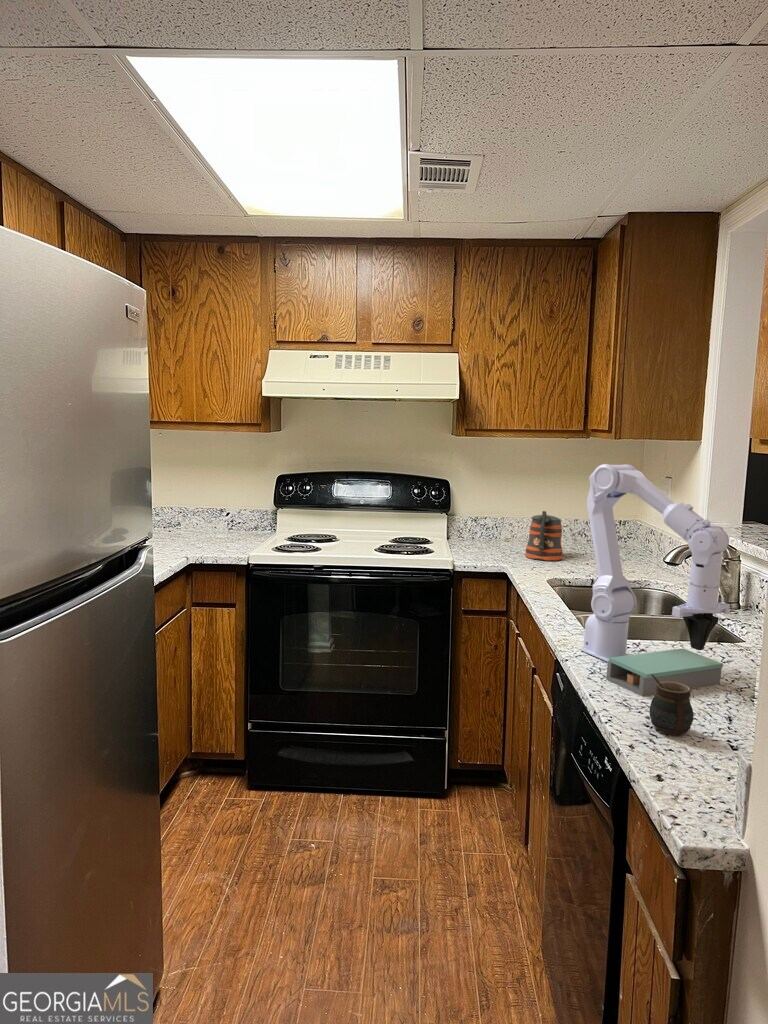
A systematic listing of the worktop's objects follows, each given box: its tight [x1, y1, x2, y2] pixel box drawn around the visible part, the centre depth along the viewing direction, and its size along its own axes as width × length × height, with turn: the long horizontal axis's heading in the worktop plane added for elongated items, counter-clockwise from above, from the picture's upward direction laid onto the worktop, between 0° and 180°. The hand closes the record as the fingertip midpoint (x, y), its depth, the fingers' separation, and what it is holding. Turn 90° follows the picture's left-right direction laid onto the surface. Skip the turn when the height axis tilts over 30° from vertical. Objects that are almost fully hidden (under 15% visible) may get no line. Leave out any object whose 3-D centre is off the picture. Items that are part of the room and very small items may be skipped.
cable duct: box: [605, 662, 723, 697], centre depth 154 cm, size 11×22×4 cm, turn 116°
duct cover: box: [609, 648, 724, 678], centre depth 153 cm, size 10×22×1 cm, turn 116°
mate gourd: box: [649, 674, 695, 737], centre depth 128 cm, size 7×8×10 cm
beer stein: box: [525, 510, 563, 562], centre depth 291 cm, size 19×15×20 cm
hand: (697, 648), depth 153 cm, fingers closed
